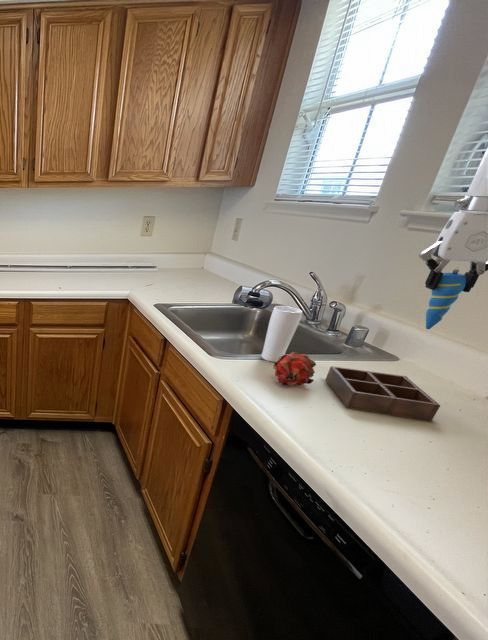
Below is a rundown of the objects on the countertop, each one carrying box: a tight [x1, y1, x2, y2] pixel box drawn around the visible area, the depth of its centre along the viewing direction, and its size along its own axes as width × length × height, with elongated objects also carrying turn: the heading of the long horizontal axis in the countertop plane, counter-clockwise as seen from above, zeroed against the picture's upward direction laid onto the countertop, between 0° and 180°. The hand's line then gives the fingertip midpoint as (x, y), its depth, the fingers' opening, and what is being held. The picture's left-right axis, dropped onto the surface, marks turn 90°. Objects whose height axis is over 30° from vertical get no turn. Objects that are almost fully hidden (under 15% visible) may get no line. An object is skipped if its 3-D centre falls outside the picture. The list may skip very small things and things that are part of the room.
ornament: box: [425, 266, 466, 330], centre depth 98 cm, size 5×5×15 cm
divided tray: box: [324, 365, 441, 422], centre depth 99 cm, size 15×15×4 cm
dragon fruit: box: [272, 351, 317, 387], centre depth 105 cm, size 8×8×12 cm
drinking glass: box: [260, 305, 303, 363], centre depth 117 cm, size 7×7×15 cm
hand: (446, 288), depth 97 cm, fingers closed on ornament, 5 cm apart
